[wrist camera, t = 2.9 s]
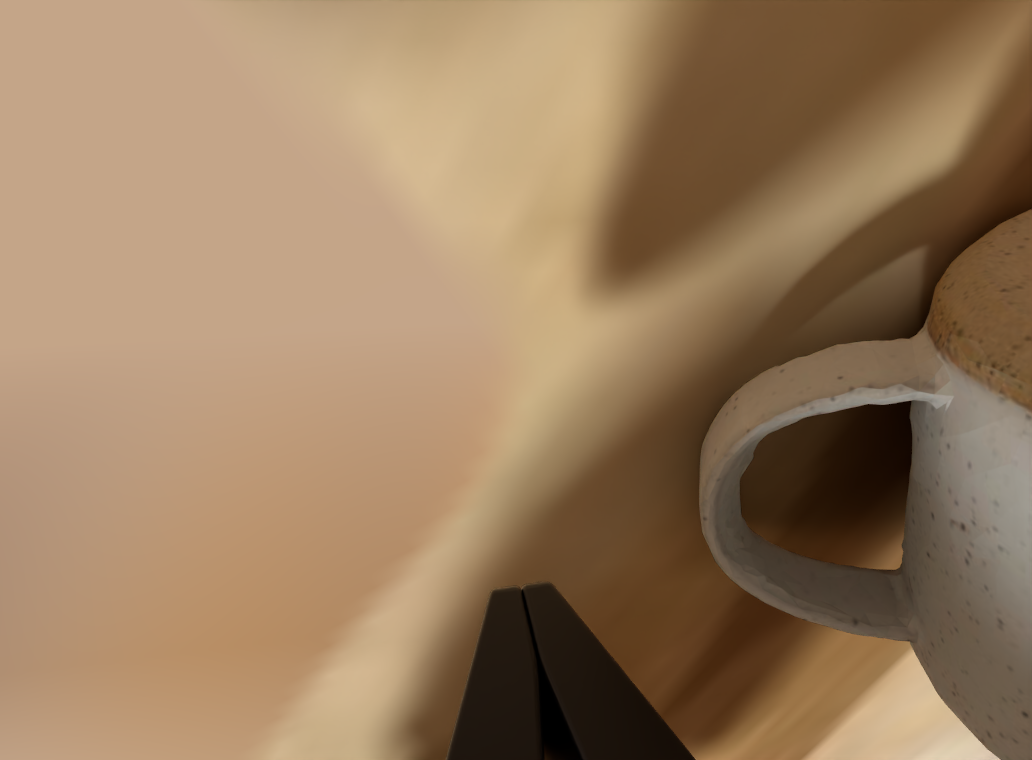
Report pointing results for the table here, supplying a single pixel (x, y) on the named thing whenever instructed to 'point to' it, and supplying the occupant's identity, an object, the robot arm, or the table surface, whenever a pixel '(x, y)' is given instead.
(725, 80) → the table surface
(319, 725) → the table surface
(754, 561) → the ceramic mug
